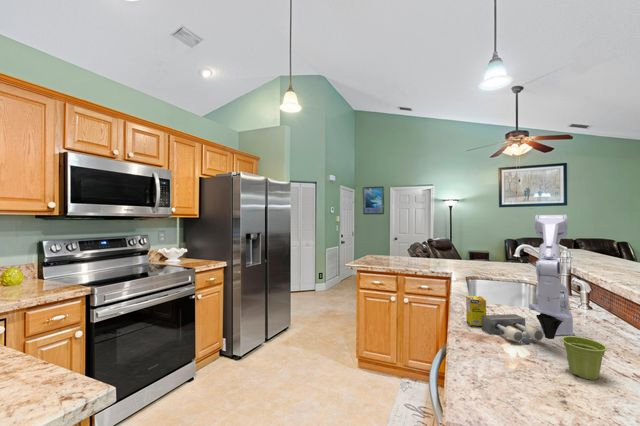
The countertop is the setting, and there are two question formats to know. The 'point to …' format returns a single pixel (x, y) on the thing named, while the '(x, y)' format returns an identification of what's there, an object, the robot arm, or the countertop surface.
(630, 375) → the countertop surface
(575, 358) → the plant pot
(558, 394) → the countertop surface
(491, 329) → the panel
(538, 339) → the knob
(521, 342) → the potentiometer
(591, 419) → the countertop surface
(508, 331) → the knob
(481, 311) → the supplement box
